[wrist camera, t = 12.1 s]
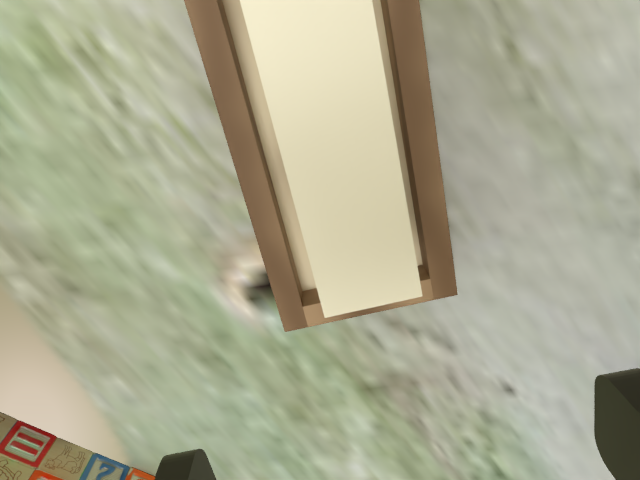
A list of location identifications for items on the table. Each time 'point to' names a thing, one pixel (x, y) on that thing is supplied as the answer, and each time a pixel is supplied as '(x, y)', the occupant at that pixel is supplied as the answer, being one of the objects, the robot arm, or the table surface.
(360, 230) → the block
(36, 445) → the stack of blocks
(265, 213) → the wooden serving tray
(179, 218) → the table surface
